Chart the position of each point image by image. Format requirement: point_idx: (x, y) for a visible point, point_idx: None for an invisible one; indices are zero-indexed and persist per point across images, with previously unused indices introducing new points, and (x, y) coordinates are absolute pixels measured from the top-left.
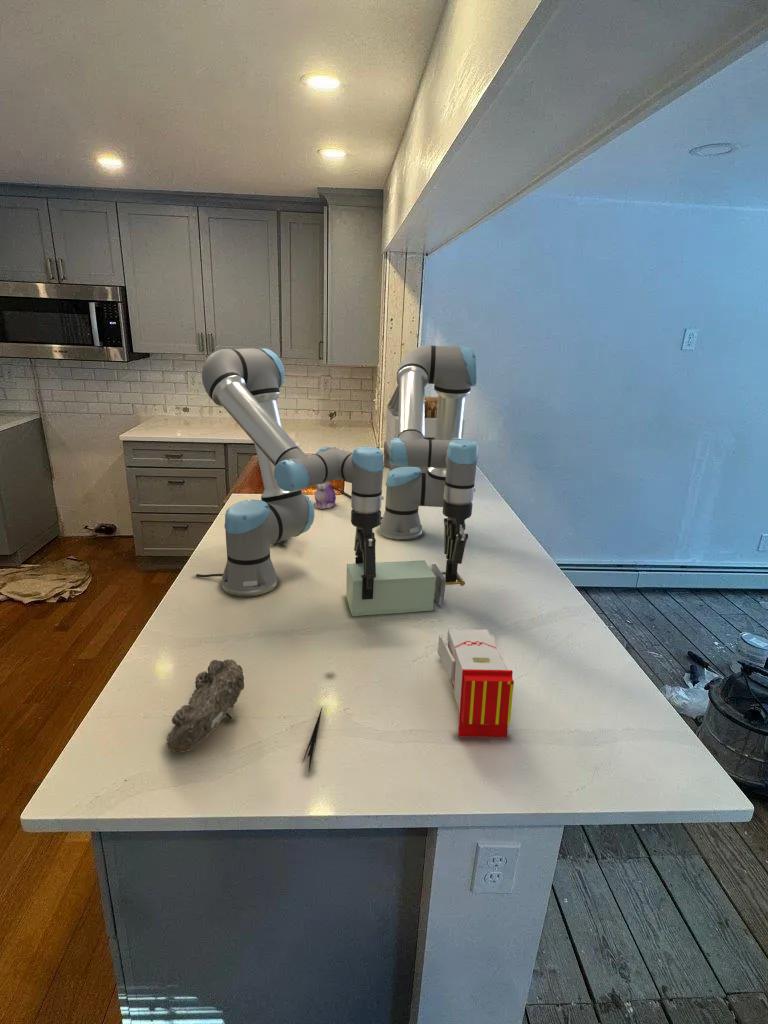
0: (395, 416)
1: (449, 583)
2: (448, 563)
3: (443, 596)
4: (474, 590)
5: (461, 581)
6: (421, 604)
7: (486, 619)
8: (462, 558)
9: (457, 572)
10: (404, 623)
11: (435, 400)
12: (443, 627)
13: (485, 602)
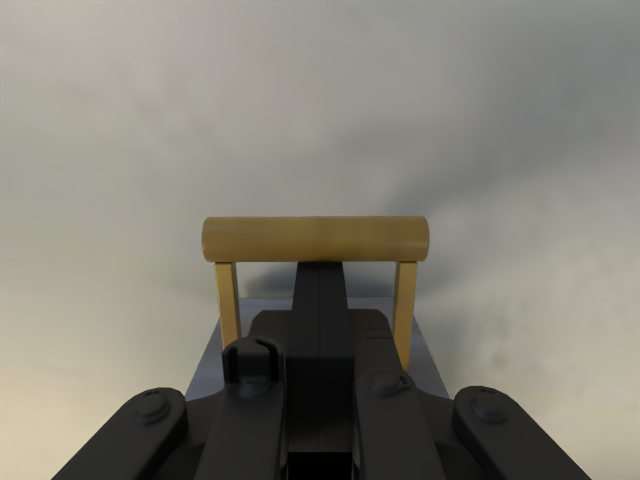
0: None
1: (409, 335)
2: (350, 441)
3: (417, 328)
4: (213, 30)
5: (425, 255)
6: None
7: (568, 95)
8: (579, 468)
9: (256, 235)
10: None
11: None
12: (559, 330)
13: (380, 16)
